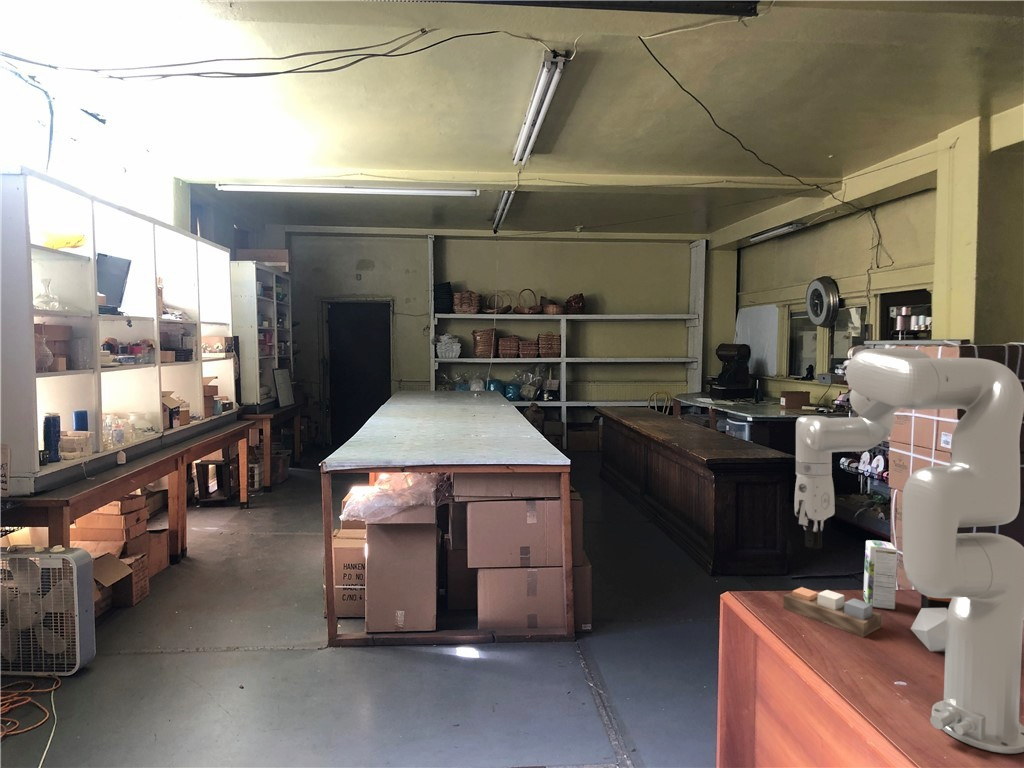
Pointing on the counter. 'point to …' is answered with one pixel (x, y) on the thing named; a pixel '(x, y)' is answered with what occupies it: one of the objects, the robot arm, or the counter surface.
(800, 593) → the peach square block
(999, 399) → the robot arm
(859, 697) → the counter surface
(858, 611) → the grey button
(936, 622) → the die
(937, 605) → the battery
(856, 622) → the button board
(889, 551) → the syrup box
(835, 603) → the cream button
